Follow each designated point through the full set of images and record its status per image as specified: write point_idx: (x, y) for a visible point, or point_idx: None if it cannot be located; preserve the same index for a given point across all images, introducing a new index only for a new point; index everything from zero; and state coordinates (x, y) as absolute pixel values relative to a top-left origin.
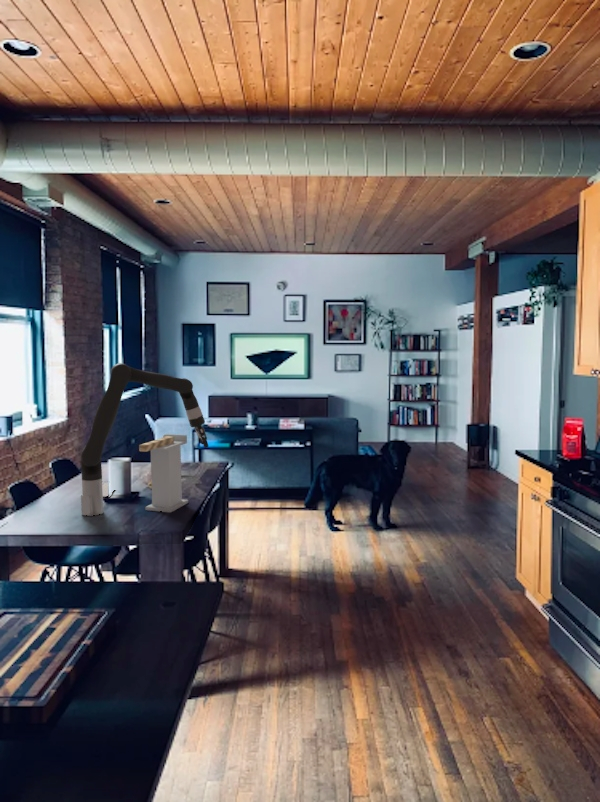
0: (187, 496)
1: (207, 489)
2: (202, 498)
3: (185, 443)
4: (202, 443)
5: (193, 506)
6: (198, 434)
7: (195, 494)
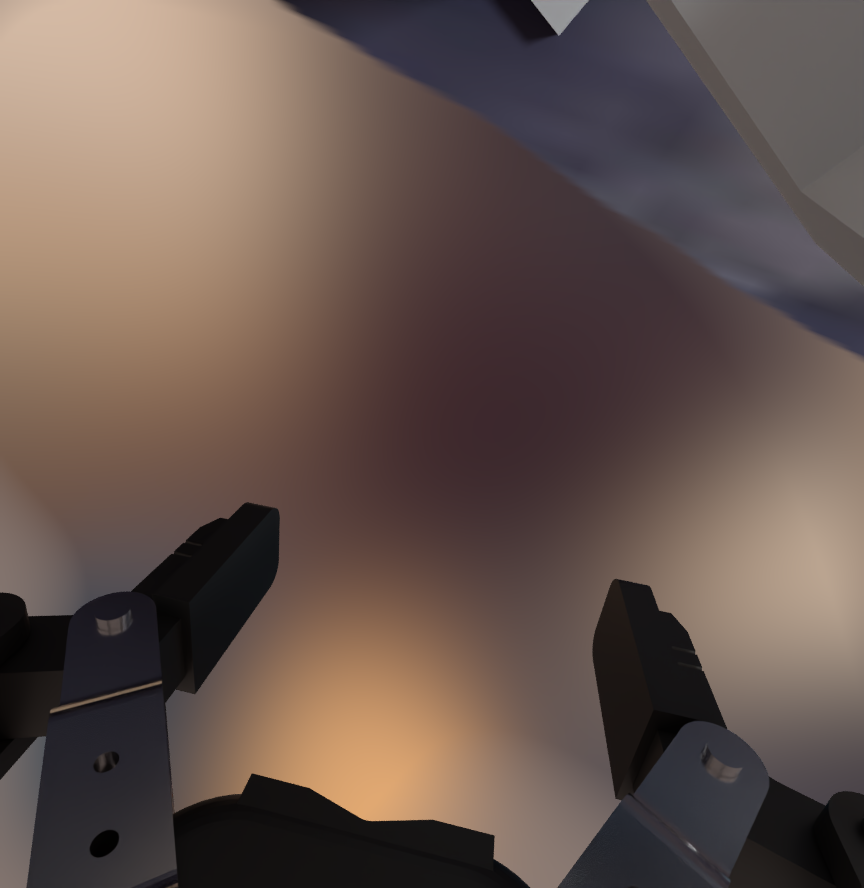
0: None
1: (853, 335)
2: (621, 210)
3: (741, 133)
4: (611, 604)
5: (421, 52)
6: (45, 811)
7: None
